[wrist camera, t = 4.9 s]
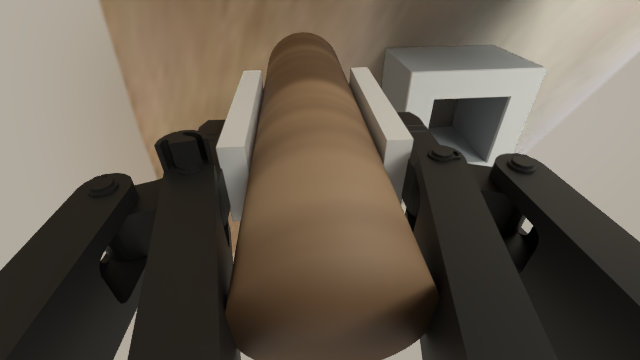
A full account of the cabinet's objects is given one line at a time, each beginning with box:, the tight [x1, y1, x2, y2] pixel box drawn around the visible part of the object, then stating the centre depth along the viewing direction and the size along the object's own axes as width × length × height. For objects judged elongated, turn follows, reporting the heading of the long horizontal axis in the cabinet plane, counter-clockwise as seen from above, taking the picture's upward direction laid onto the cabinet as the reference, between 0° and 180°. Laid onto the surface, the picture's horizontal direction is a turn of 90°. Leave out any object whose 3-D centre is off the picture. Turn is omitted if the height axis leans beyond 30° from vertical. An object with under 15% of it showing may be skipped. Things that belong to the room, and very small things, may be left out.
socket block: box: [381, 45, 547, 167], centre depth 28 cm, size 10×10×7 cm
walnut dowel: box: [225, 33, 439, 360], centre depth 12 cm, size 4×4×15 cm
